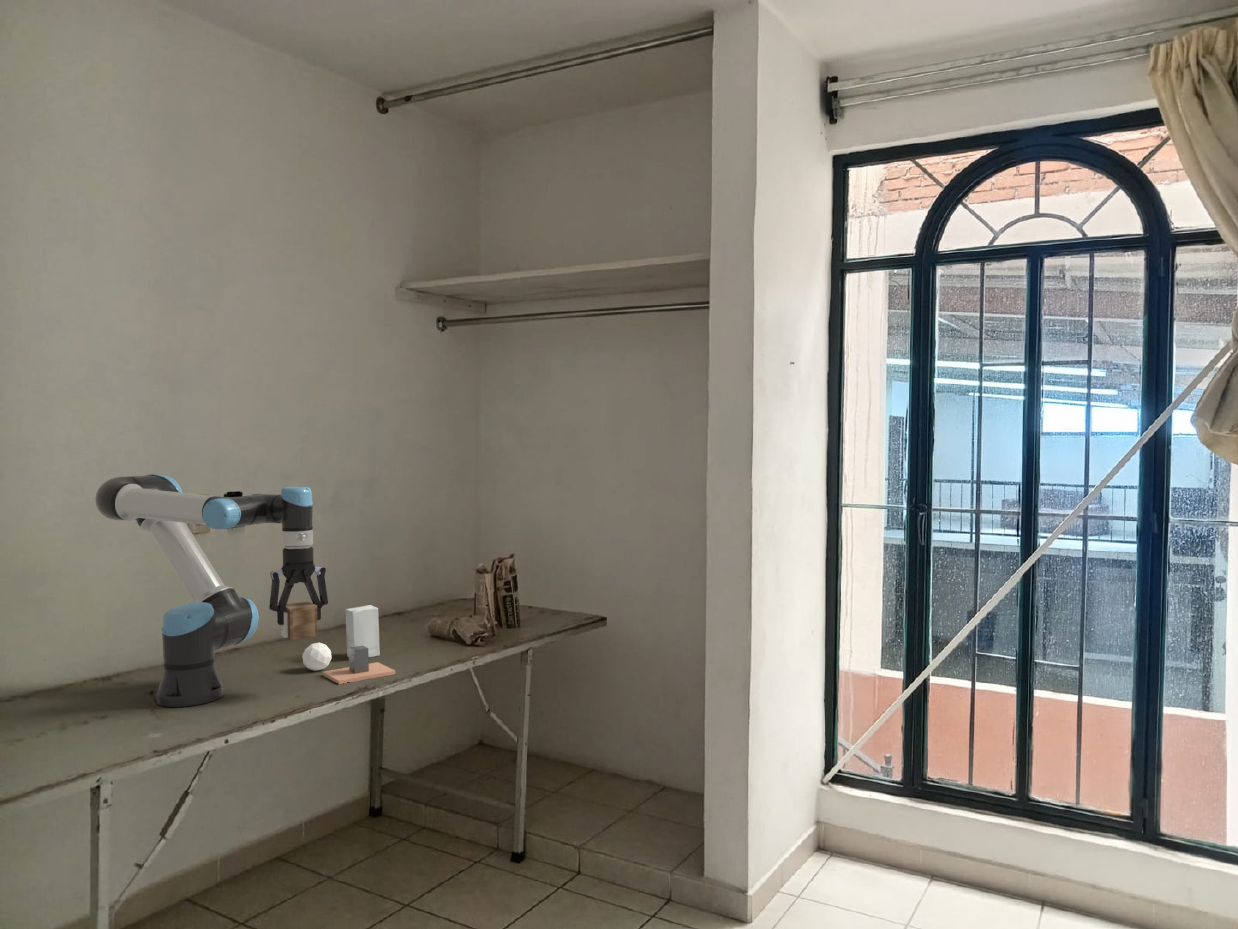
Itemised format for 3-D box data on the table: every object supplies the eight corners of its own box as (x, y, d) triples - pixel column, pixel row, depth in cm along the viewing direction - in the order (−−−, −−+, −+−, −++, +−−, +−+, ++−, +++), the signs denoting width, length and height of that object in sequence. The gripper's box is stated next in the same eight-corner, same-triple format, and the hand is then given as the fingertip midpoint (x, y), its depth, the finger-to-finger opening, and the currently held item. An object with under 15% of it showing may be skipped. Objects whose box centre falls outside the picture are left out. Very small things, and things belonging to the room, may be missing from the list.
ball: (310, 679, 257) (301, 654, 260) (338, 666, 259) (328, 642, 262) (305, 672, 250) (295, 646, 253) (333, 659, 253) (323, 634, 256)
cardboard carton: (290, 640, 229) (289, 608, 229) (281, 635, 235) (280, 604, 235) (317, 636, 234) (317, 605, 233) (308, 631, 239) (307, 601, 239)
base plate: (339, 684, 241) (338, 680, 241) (322, 675, 250) (322, 671, 250) (395, 674, 251) (395, 670, 251) (377, 665, 260) (377, 662, 260)
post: (354, 673, 248) (354, 650, 247) (349, 670, 251) (348, 647, 251) (368, 671, 250) (368, 648, 250) (363, 668, 253) (362, 645, 253)
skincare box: (372, 652, 276) (371, 604, 275) (380, 656, 271) (379, 607, 271) (345, 657, 271) (344, 607, 270) (353, 661, 266) (352, 610, 266)
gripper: (262, 551, 224) (264, 643, 225) (341, 544, 237) (342, 631, 237) (253, 548, 230) (255, 638, 231) (330, 542, 243) (332, 627, 243)
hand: (299, 634), depth 234 cm, fingers closed on cardboard carton, 7 cm apart
